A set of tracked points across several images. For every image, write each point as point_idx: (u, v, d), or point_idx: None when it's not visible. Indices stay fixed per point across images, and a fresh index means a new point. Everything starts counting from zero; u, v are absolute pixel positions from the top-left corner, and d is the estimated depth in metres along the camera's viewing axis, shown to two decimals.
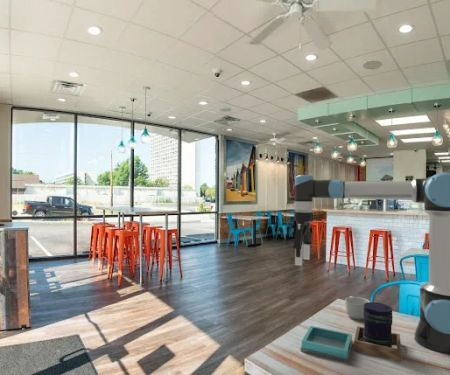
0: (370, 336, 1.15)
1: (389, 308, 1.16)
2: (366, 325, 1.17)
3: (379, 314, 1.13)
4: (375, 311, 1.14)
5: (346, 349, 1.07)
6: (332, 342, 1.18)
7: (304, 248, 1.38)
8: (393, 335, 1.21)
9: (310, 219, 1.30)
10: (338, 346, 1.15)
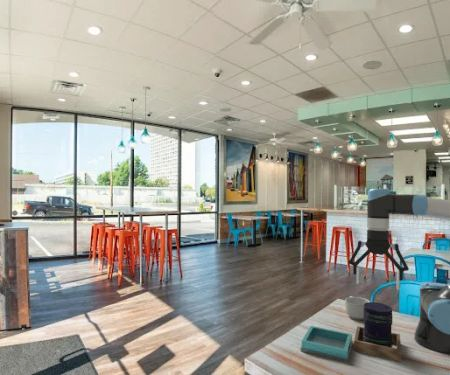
0: (370, 336, 1.15)
1: (389, 308, 1.16)
2: (366, 325, 1.17)
3: (379, 314, 1.13)
4: (375, 311, 1.14)
5: (346, 349, 1.07)
6: (332, 342, 1.18)
7: None
8: (393, 335, 1.21)
9: (373, 238, 1.16)
10: (338, 346, 1.15)
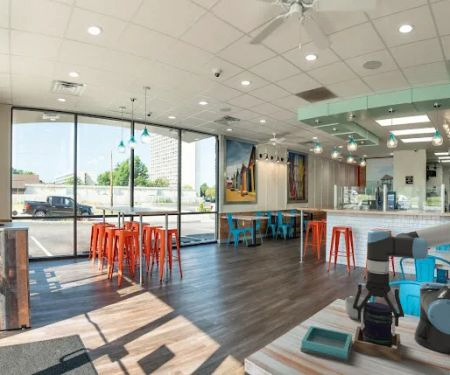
0: (370, 336, 1.15)
1: (389, 308, 1.16)
2: (366, 325, 1.17)
3: (379, 314, 1.13)
4: (375, 311, 1.14)
5: (346, 349, 1.07)
6: (332, 342, 1.18)
7: (392, 320, 1.16)
8: None
9: (373, 281, 1.16)
10: (338, 346, 1.15)
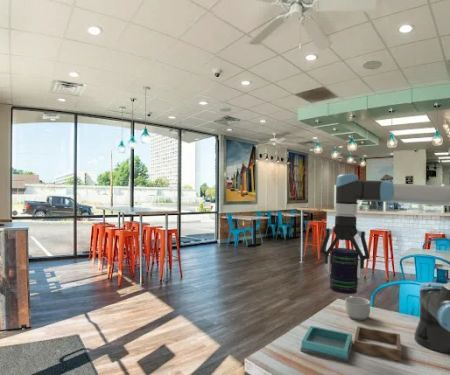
0: (335, 278, 1.15)
1: (355, 251, 1.17)
2: (332, 268, 1.17)
3: (345, 256, 1.13)
4: (340, 252, 1.14)
5: (346, 349, 1.07)
6: (332, 342, 1.18)
7: None
8: (393, 335, 1.21)
9: (339, 223, 1.16)
10: (338, 346, 1.15)
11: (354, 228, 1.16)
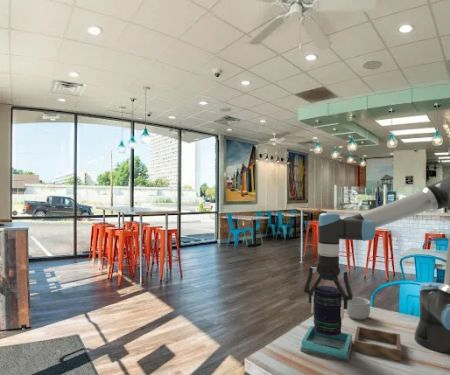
0: (319, 319, 1.14)
1: None
2: (316, 308, 1.16)
3: (328, 297, 1.12)
4: (323, 293, 1.13)
5: (346, 349, 1.07)
6: (332, 342, 1.18)
7: None
8: (393, 335, 1.21)
9: (322, 263, 1.15)
10: (338, 346, 1.15)
11: (337, 268, 1.15)
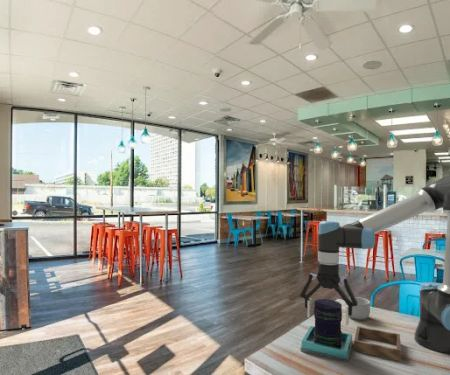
0: (319, 333, 1.14)
1: (339, 305, 1.15)
2: (316, 322, 1.16)
3: (328, 311, 1.12)
4: (323, 308, 1.13)
5: (346, 349, 1.07)
6: None
7: None
8: (393, 335, 1.21)
9: (322, 272, 1.15)
10: None
11: (337, 276, 1.15)
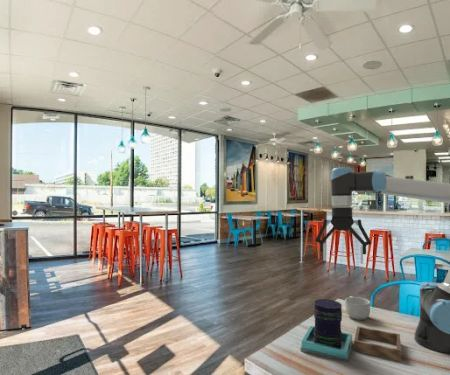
0: (319, 333, 1.14)
1: (339, 305, 1.15)
2: (316, 322, 1.16)
3: (328, 311, 1.12)
4: (323, 308, 1.13)
5: (346, 349, 1.07)
6: None
7: None
8: (393, 335, 1.21)
9: (337, 214, 1.21)
10: None
11: (350, 218, 1.21)
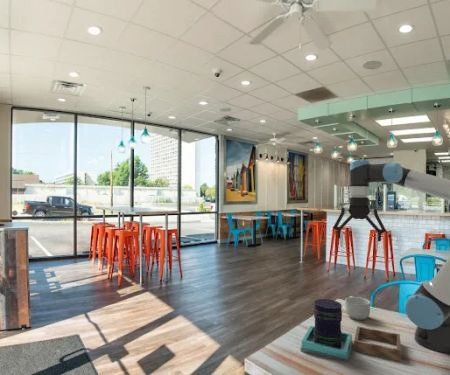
0: (319, 333, 1.14)
1: (339, 305, 1.15)
2: (316, 322, 1.16)
3: (328, 311, 1.12)
4: (323, 308, 1.13)
5: (346, 349, 1.07)
6: None
7: None
8: (393, 335, 1.21)
9: (354, 204, 1.29)
10: None
11: (367, 208, 1.29)
